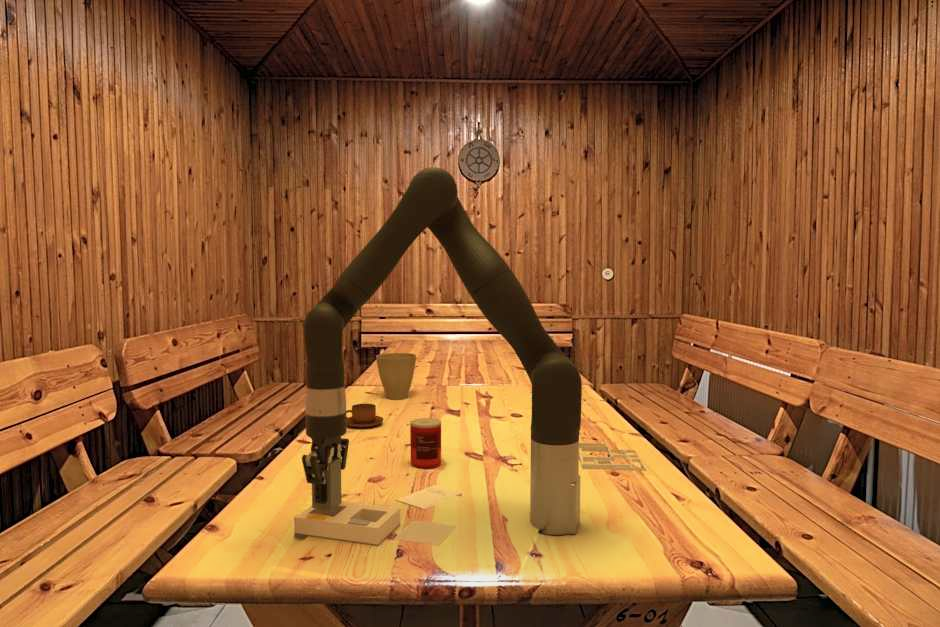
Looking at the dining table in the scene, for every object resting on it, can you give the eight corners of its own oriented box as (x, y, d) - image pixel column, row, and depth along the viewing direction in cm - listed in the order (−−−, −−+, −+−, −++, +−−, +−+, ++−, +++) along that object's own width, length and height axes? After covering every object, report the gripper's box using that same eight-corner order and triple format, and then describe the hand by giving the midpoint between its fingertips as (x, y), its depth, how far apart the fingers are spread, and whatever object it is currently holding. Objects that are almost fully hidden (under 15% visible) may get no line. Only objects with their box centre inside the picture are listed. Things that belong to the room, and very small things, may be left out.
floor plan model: (542, 448, 183) (542, 441, 183) (634, 451, 181) (634, 444, 181) (543, 470, 165) (543, 462, 165) (646, 473, 163) (646, 465, 163)
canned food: (427, 457, 174) (426, 416, 173) (447, 464, 168) (447, 421, 167) (404, 464, 168) (403, 421, 167) (424, 471, 163) (424, 427, 162)
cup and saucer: (357, 432, 199) (357, 412, 199) (337, 425, 208) (336, 405, 208) (390, 425, 207) (390, 406, 207) (369, 419, 216) (369, 400, 216)
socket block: (400, 528, 128) (400, 506, 128) (377, 550, 118) (377, 526, 118) (322, 518, 133) (321, 497, 133) (294, 538, 124) (294, 515, 123)
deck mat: (456, 530, 127) (456, 526, 127) (439, 549, 119) (439, 545, 119) (412, 524, 130) (412, 520, 130) (393, 543, 121) (393, 538, 121)
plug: (341, 503, 128) (340, 457, 127) (331, 510, 124) (330, 463, 123) (323, 500, 129) (322, 455, 128) (312, 508, 125) (311, 461, 125)
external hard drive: (394, 506, 141) (434, 490, 150) (423, 516, 136) (462, 498, 145) (394, 499, 141) (434, 483, 150) (423, 508, 136) (462, 491, 145)
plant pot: (382, 393, 257) (382, 352, 256) (420, 394, 255) (420, 353, 254) (371, 401, 242) (371, 358, 241) (411, 402, 240) (411, 358, 239)
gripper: (324, 420, 117) (325, 514, 119) (361, 403, 131) (362, 488, 132) (287, 417, 120) (289, 509, 121) (327, 401, 133) (328, 484, 135)
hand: (327, 498), depth 127 cm, fingers closed on plug, 4 cm apart
